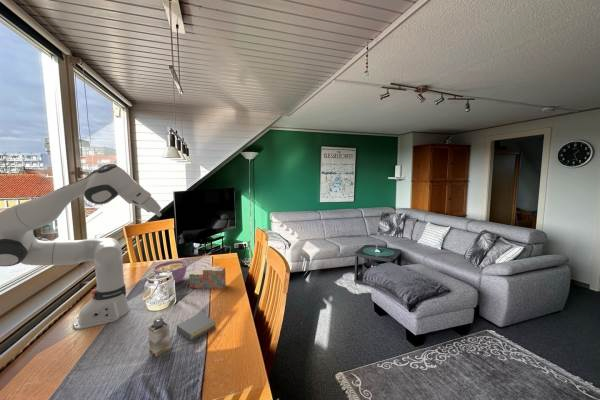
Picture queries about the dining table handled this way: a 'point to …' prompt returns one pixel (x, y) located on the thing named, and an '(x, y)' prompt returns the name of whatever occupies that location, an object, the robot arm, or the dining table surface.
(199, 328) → the block
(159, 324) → the metal canister
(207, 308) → the dining table surface
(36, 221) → the robot arm
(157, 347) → the small grey lidded jar
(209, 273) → the stack of blocks
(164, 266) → the bowl of food
